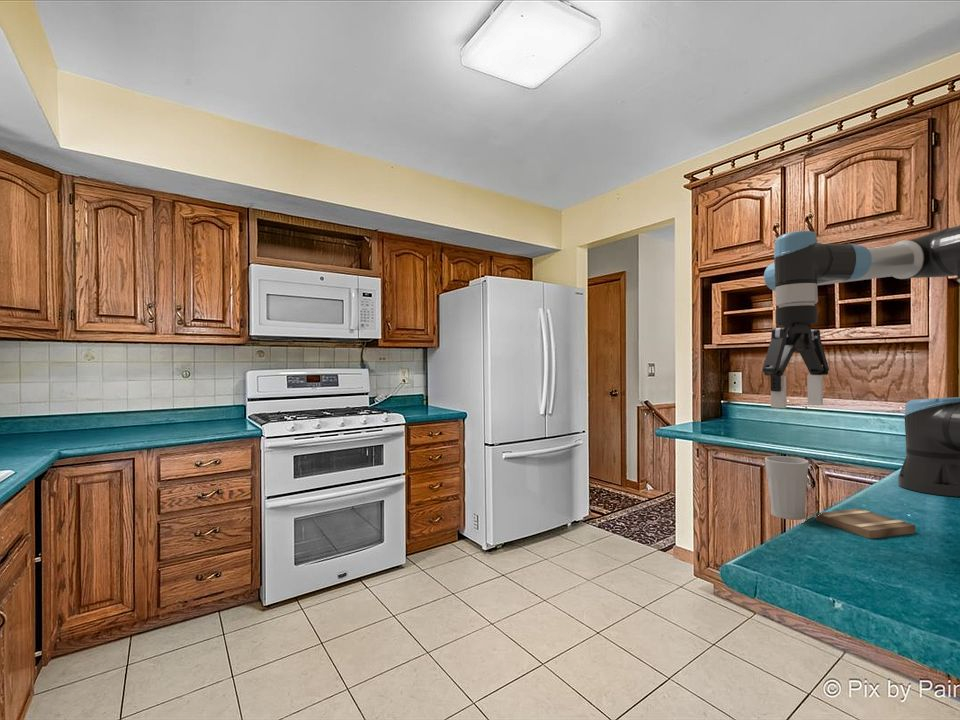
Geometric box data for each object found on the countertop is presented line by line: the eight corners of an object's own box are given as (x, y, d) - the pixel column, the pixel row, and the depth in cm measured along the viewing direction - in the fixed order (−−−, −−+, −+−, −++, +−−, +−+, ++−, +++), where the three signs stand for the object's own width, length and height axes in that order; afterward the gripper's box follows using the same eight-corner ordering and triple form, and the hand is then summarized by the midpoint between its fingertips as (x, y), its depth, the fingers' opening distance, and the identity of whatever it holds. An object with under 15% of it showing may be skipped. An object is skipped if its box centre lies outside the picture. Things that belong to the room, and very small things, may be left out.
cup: (769, 507, 109) (768, 454, 109) (812, 513, 104) (810, 458, 104) (763, 516, 103) (762, 460, 103) (808, 523, 98) (806, 464, 98)
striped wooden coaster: (858, 515, 102) (857, 507, 102) (915, 532, 92) (915, 524, 92) (816, 520, 100) (815, 512, 100) (869, 538, 89) (869, 529, 89)
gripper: (809, 310, 111) (811, 402, 111) (742, 305, 99) (743, 407, 99) (846, 307, 104) (848, 404, 104) (779, 300, 93) (781, 410, 92)
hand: (797, 406), depth 102 cm, fingers open, 13 cm apart
